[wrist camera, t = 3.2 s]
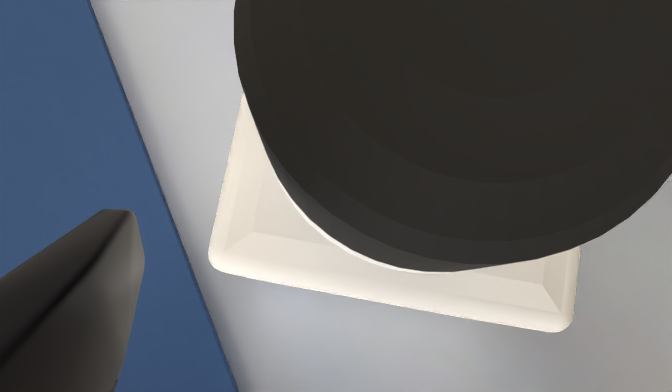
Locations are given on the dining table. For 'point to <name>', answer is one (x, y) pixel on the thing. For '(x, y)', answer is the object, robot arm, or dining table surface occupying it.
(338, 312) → the dining table surface
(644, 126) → the medicine bottle
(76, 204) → the cloth
